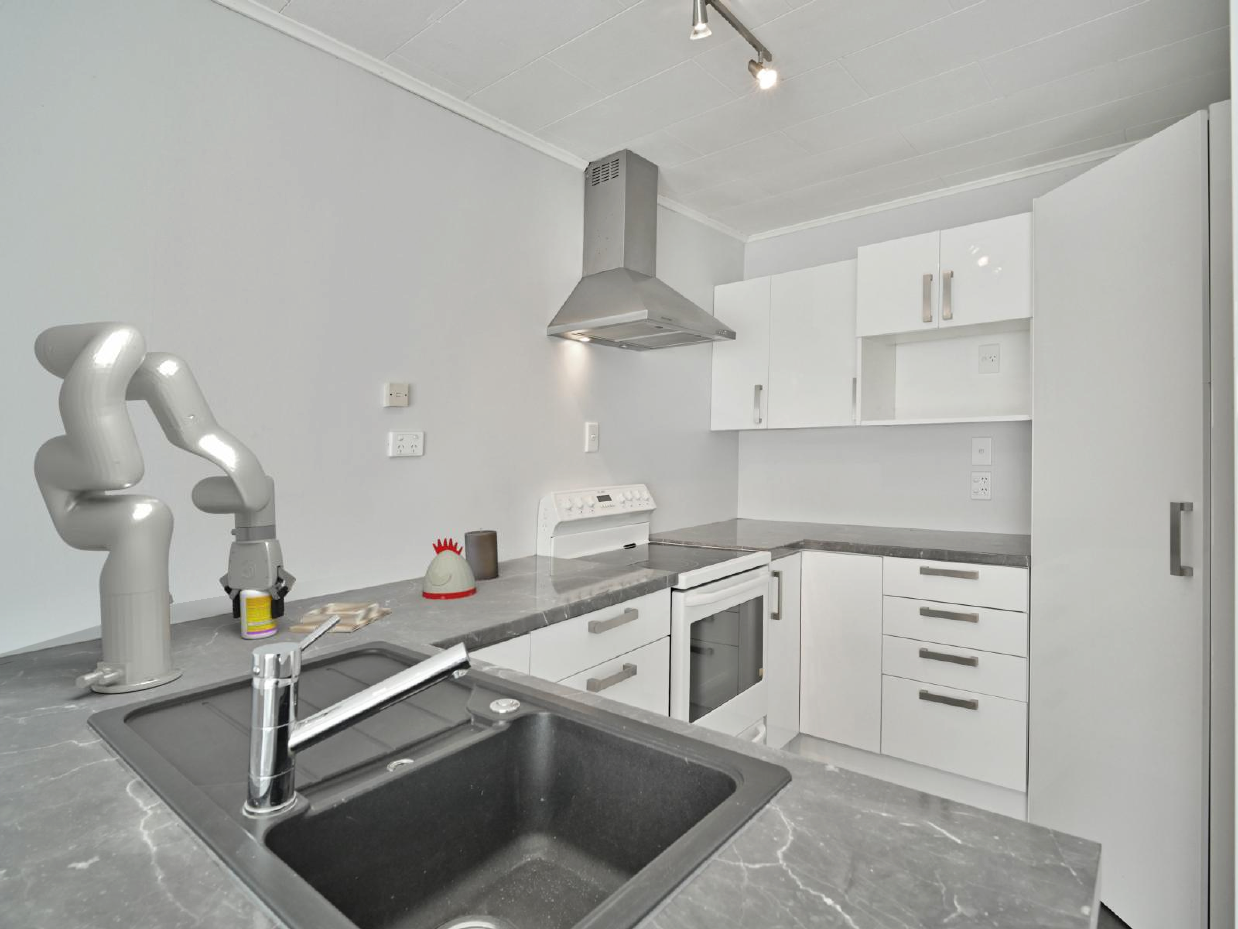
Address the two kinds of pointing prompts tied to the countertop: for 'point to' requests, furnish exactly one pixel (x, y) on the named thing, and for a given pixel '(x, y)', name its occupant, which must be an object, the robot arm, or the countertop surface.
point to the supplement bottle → (256, 614)
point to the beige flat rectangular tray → (349, 613)
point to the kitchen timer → (448, 574)
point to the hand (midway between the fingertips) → (258, 616)
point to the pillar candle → (482, 553)
